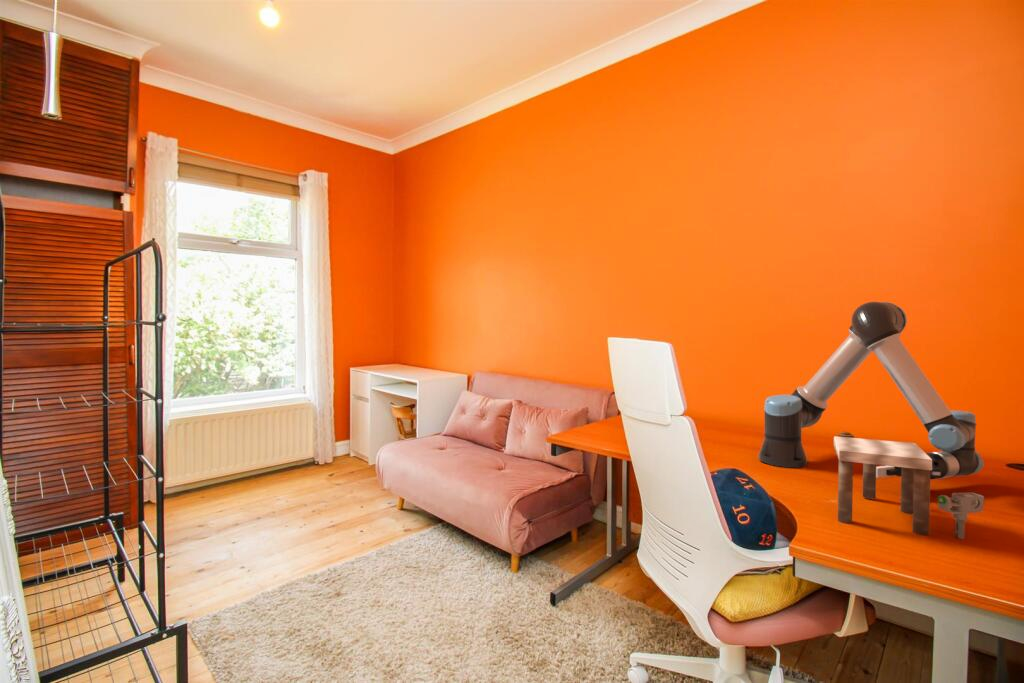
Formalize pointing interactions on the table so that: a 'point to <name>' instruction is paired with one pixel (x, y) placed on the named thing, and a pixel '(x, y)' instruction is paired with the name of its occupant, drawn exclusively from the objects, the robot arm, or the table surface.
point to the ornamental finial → (845, 435)
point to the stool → (889, 454)
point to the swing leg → (869, 481)
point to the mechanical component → (961, 508)
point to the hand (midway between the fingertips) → (875, 472)
